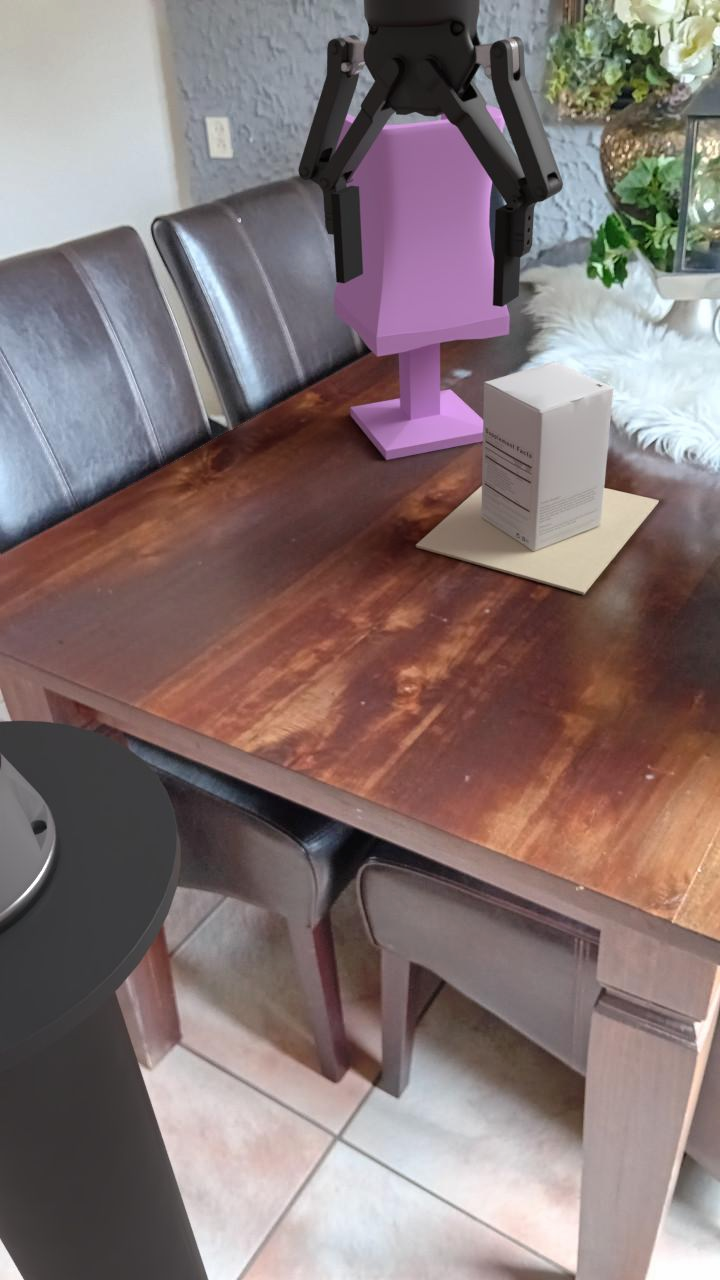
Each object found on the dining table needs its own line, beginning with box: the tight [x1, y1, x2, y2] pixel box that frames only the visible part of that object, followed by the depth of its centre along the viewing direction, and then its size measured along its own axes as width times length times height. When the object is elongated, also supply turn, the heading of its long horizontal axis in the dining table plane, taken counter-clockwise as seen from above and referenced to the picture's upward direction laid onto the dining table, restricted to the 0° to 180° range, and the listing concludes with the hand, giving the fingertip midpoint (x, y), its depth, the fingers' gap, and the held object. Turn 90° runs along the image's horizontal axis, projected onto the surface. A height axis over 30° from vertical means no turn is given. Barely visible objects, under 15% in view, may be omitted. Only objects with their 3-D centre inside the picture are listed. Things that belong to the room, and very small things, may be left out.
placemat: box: [415, 485, 660, 596], centre depth 103 cm, size 18×20×1 cm
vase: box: [333, 99, 511, 461], centre depth 114 cm, size 16×16×35 cm
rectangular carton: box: [481, 360, 614, 551], centre depth 99 cm, size 9×9×15 cm
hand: (424, 289), depth 76 cm, fingers open, 13 cm apart
